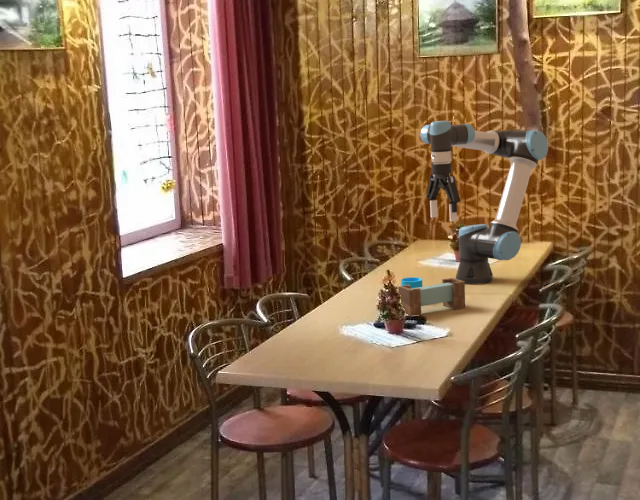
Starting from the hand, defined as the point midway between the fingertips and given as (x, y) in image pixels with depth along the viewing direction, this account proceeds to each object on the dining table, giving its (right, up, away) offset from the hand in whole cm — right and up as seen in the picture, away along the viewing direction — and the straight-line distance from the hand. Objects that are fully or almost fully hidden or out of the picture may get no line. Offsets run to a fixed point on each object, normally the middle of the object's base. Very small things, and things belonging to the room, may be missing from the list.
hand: (443, 219), depth 352 cm
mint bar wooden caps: (-6, -34, -12) cm, 36 cm away
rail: (-6, -31, -12) cm, 34 cm away
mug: (-10, -31, +8) cm, 33 cm away
